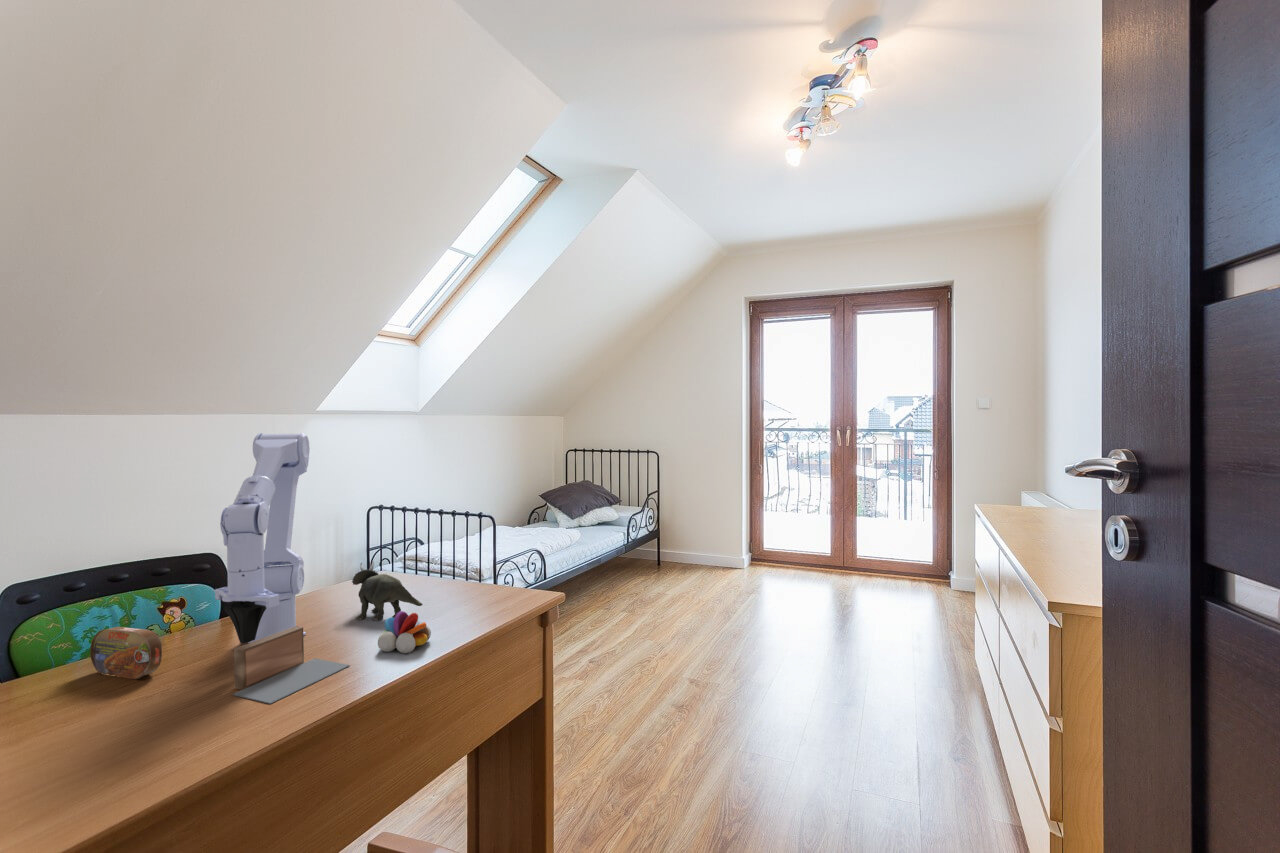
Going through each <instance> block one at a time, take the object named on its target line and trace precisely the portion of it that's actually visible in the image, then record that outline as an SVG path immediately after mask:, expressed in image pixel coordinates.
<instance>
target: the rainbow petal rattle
mask: <svg viewBox="0 0 1280 853" xmlns="http://www.w3.org/2000/svg"><path fill="white" fill-rule="evenodd" d="M418 621H419V614H418V613H416V612H412V613H410V614H408V613H407V612H406V611H403V610H401V611H400V612H398V613H397V615H396V616H395V618H393V617H392V616H391V617H387V618H386V620H385V621H384V628H385V631H383V632H382V633H381V634H380V635H379V636H378V639H377V646H378V648H379V649H380V650H381V651H382V652H385V653H389V652H392V651H394V650H395V649H397V651H398V652H400V653H401V654H409V653H411V652H413V651H414V650H415V648H416V647H417V646H418V647H419V646H422V645H425V644H426V643H427V642H428V641H429V639H431V636H432V630H431V628H430V627H429V625H427V623H426V622H422V623H419V624H417V623H418Z"/></svg>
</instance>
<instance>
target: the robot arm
mask: <svg viewBox="0 0 1280 853" xmlns="http://www.w3.org/2000/svg"><path fill="white" fill-rule="evenodd" d="M310 449H311V448H310V441H309V437H308V435H306V433H305V432H298V433H262V432H261V433H260V432H259V433H257V434H256V435H255V436H254V439H253V442H252V454H253V458H254V459H255V467H254V470H253V472H252V476H251V475H250V476H248V477H247V478H245V479H244V480H243V482H242V484H241V486H240V488H239V491H238V492H237V494H236V497H235V498H234V501H233V503H232V504H230V505H228V506H227V507H224V509H223V510H222V512H221V515H220V523H219V526H220V527H219V528H220V532H221V534H222V537H223V545H224V546H226V559H227V560H226V562H227V564H226V565H227V567H226V568H227V586H223V587H220V588H215V589H214V595H215V596H214V599H215V600H216V601H222V602H225V603H230V602H231V603H230V604H229V605H226V606H224V611H225V613H226V614H227V615H228V617H229V618H230V620H231V622H232V623H233V624H232V625H233V627H234V629H235V631H236V635H237V637H238V638H237V639H238V641H239V643H242V644H248V643H251V642H254V641H256V640H259V639H262V638H265V637H267V636H270V635H273V634H275V633H278V632H281V631H284V630H286V629H289V628H292V627H295V626H297V617H296V614H297V611H296V608H297V604H296V595H298V594H300V593H301V591H302V590H303V587H304V584H305V571H304V567H305V564H304V563H305V562H304V560H303V558H302V557H301V555H299V554H298V553H296V552H294V551H293V550H291V546H292V536H293V526H294V517H295V516H294V515H295V508H296V497H297V488H298V483H299V478H300V476H301V475H303V474H305V473H307V472H308V467H309V460H310ZM265 533H266V536H265V537H266V538H264V534H265ZM264 540H265V543H264ZM264 545H265V546H264ZM306 634H307V632H306V631H303V636H305V635H306Z"/></svg>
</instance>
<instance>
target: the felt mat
mask: <svg viewBox="0 0 1280 853" xmlns="http://www.w3.org/2000/svg"><path fill="white" fill-rule="evenodd" d="M350 666H351V665H350V664H346V663H341V662H336V661H330V660H325V659H322V658H321V659H320V658H315V657H314V658H312V659H310V660H308V661H304V663H303V664H301V665H298V666H296V667H294V668H291V669H289V670H287V671H285V672H282V673H280V674H278V675H275V676H273V677H271V678H269V679H266V680H264V681H262V682H259V683H257V684H255V685H252V686H250V687H248V688H246V689H243V690H239V691H237V692H234V693H232V696H235V697H238V698H243V699H248V700H252V701H256V702H260V703H265V704H267V705H268V704H269V705H273V704H274V703H276V702H278V701H280V700H282V699H284V698H286V697H288V696H290V695H293V694H295V693H297V692H299V691H301V690H303V689H305V688H307V687H309V686H311V685H313V684H316V683H318V682H319V681H322V680H324V679H325V678H328V677H330V676H332V675H335V674H337V673H338V672H341V671H343V670H344V669H347V668H349V667H350Z"/></svg>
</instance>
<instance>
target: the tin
mask: <svg viewBox="0 0 1280 853" xmlns="http://www.w3.org/2000/svg"><path fill="white" fill-rule="evenodd" d="M162 644H163V643H162V641H161V639H160V637H159V636H158V634H157V633H156V632H154V631H153V630H150V629H145V628H133V627H125V626H124V627H123V626H114V627H111V628H106V629H101V630H99V631H97V633H96V634H95V635H94V636H93V639H92V641H91V644H90V650H89V652H90V655H89V656H90V659H91V662H92V665H93V667H94V669H95V670H96V671H97V672H98V674H100V673H103V674H109V675H115V676H119V677H118V678H121V677H124V678H123V679H129V680H138V679H141V678H142V677H145V676H149V675H151V674H153V673H154V672H155V671H157V670H158V668H160V665H161V664H162V656H163V655H162V654H163V651H162V650H163V648H162V647H163V646H162Z"/></svg>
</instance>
